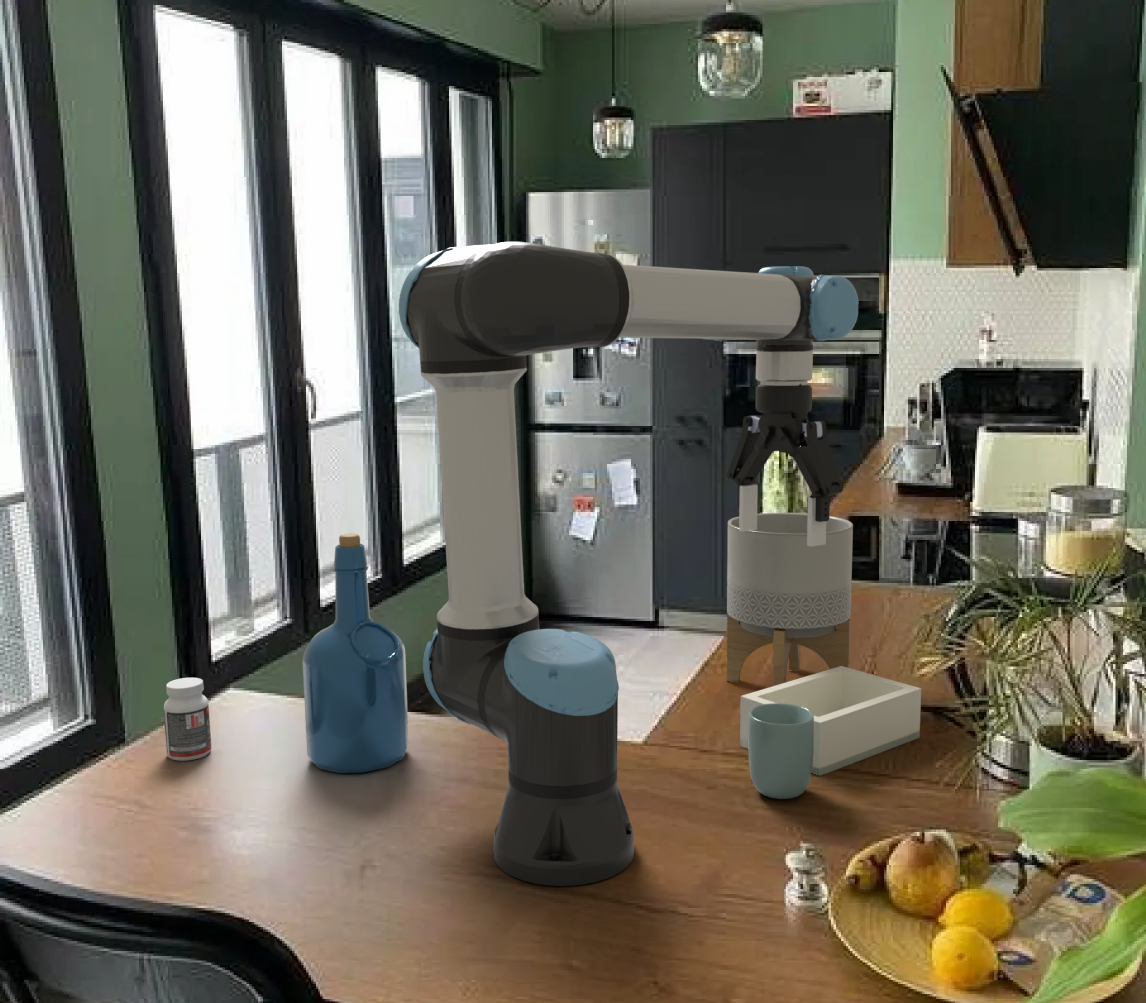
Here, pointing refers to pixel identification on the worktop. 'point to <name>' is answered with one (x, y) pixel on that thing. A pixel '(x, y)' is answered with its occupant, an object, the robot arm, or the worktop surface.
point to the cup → (780, 749)
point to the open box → (845, 714)
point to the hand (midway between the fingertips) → (780, 537)
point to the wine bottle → (354, 678)
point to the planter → (788, 592)
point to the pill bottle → (187, 720)
